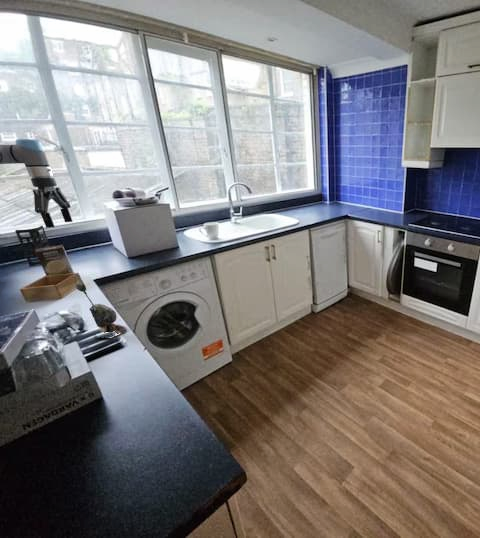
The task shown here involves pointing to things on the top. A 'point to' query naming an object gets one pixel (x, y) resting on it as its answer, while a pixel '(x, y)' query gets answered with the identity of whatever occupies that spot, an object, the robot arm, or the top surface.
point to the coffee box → (54, 260)
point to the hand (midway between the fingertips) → (60, 224)
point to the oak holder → (50, 287)
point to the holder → (38, 244)
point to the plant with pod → (102, 314)
